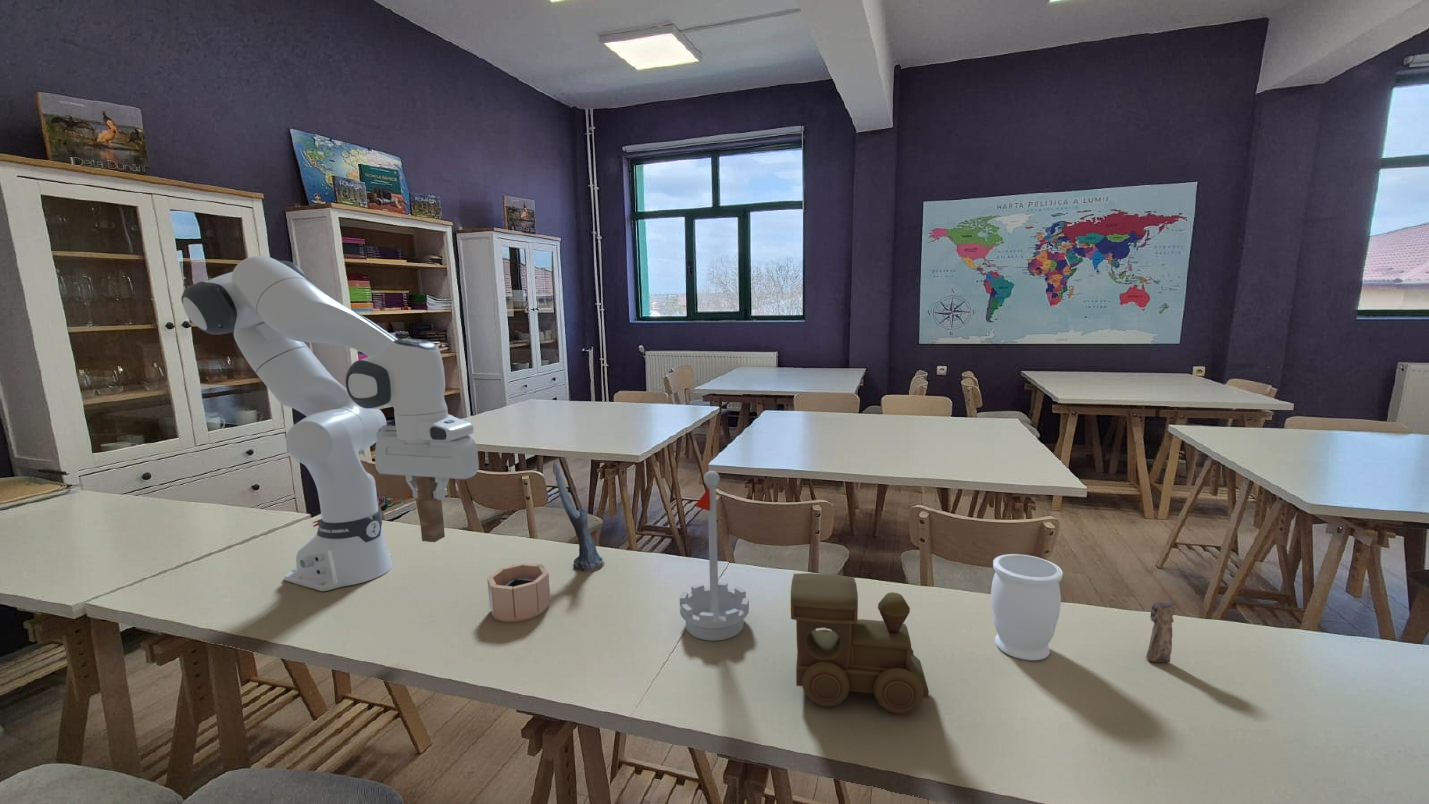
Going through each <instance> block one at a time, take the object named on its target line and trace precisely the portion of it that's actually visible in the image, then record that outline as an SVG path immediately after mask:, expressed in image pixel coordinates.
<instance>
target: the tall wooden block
mask: <svg viewBox="0 0 1429 804" xmlns="http://www.w3.org/2000/svg"><path fill="white" fill-rule="evenodd" d="M416 483H417V494H418V498H417V500H418V501H417V502H418V512H419V524H420V533H421V541H422V542H425V543H426V542H427V543H436V542H438V541H439V540H441V539H443V538H445V535H446V533H445V523H444V514H443V513H444V512H443V511H444V510H443V502H442V500H443V499H441V500H434V499H432V496H433V495H432V491H433V490H436V487H437V485H438V483H436V482H435V477H422V476H416Z"/></svg>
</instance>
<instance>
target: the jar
mask: <svg viewBox="0 0 1429 804" xmlns="http://www.w3.org/2000/svg"><path fill="white" fill-rule="evenodd" d="M992 566H993V567H992V568H993V570H994V571H995V573H994V575H993V578H992V583H991V590H990V602H991V604H990V605H991V609H992V610H991V611H992V618H993V619H992V620H993V625H994V628H995V630H996V633H997V634H996V635H995V638H994V643H995V645H996V647H997V648H998V649H999V650H1001V652H1003V653H1004V654H1007V655H1008V656H1011V657H1013V658H1017V659H1019V660H1024V661H1041V660H1044V659H1046V658H1048V657H1049V655H1050V653H1051V650H1050V647H1049V644H1050V642H1051V641H1052V639H1053V637H1054V634H1055V631H1056V627H1057V625H1058V621H1059V617H1060V612H1061V607H1062V606H1061V604H1062V601H1061V599H1062V598H1061V597H1062V596H1061V594H1062V593H1061V587H1060V582H1061V581H1062V579H1063V570H1062V569H1061V568H1060V567H1059V565H1057V564H1055V563H1054V562H1051V561H1049V560H1046V559H1045V558H1041V557H1039V556H1033V555H1029V554H1021V553H1020V554H1019V553H1010V554H1009V553H1006V554H1002V555H998V556H996V557H995V558H994V559H993V560H992Z"/></svg>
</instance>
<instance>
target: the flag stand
mask: <svg viewBox="0 0 1429 804" xmlns="http://www.w3.org/2000/svg"><path fill="white" fill-rule="evenodd" d="M720 481H721V480H720V475H719V473H718V472H716V471H715V470H708V471H707V472H705V473H704V476H703V482H704V484H705V485H706V486H707V489H706V490H705V492H704V493H703V495H702V496H701V497H700V499H698V501H697V502H696V504H695V505H694V507H696V508H699V509H702V510H705V511H707V512H708V513H707V516H708V551H709V552H708V554H709V555H708V556H709V557H708V558H709V587H705V585H704V583H698V584H694V585H693V586H690V587H691V591H690V592H686V591H683V592H682V593H681V594H680V597H679V614H680V616H681V618H682V619H683V620H684V621H685V629H686V631H687V632H688V634H690V635H691V636H693V637H694V638H697V639H700V640H705V641H713V642H715V641H723V640H728V639H731V638H733V637H735V636H736V635H738V634H740V633H741V632H742V630H743V629H744V626H745V625H744V624H745V623H744V619H746V617H747V616H748V614H749V613H750V611H749V610H750V597H747V591H746V590H745V589H744V588H742V587H740V586H736V587H735V588H734V589H731V588H729V587H728V585H729V584H728V582H722V581H719V576H718V575H719V569H718V568H719V566H718V565H719V564H718V562H719V561H718V527H717V525H718V522H717V520H718V519H717V485H718V484H719V483H720Z"/></svg>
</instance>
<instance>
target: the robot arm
mask: <svg viewBox="0 0 1429 804" xmlns="http://www.w3.org/2000/svg"><path fill="white" fill-rule="evenodd" d="M181 303H182V307H183V310H184V313H185V314H186V316H187V318H188V319H189V320H190V321H191V322H192V324H194V325H195V326H196V327H197V328H198V329H200V330H201V331H202V332H205V333H207V334H209V335H214V336H215V335H223V334H224V335H225V334H229V333H233V338H234V340H235V343H236V344H237V347H238V348H239V350H240V352H241V354H242V356H243V357H244V359H245V360H246V361H247V363H248V364H249V366H250V367H251V369H252V370H253V371H254V373H255V374H256V375H257V377H258V378H260V380H261V381H262V383H264V385H265V386H266V388H268V390H269V391H270V392H271V393H272V395H273V396H274V397H275V399H277V401H278V402H280V403H281V404H282V405H284V406H286V407H288V408H291V409H294V410H295V411H297V412H299V413H301V414H302V415H304V416H306V417H304V418H302V419H301V420H300V421H297V422H296V423H294V424H293V425H292V426H291V427H290V429H289V430H288V432H287V434H286V436H285V438H286V439H285V445H286V448H287V449H286V450H287V451H288V453H289V455H290V456H291V457H292V458H293V459H294V460H296V461H297V462H299V463H301V464H303V466H305V467H306V469H307V470H308V472H309V473H310V475H311V477H312V479H313V482H314V484H315V486H316V490H317V496H318V501H319V507H320V514H321V518H320V519H317V520H315V521H313V522H312V524H314V525H312V527H313V528H315V527H317V526H318V527H317V532H316V535H314V537H313V538H311V540H309V541H308V542H307V543H306V544H304V545H303V546H302V547H301V548H300V549H299V550H298V551H297V552H296V556H295V565H296V566H295V568H293V569H291V570H290V571H288V572H287V573H286V574H285V575H284V581H286V582H288V583H293V584H296V585H300V586H303V587H306V588H309V589H313V590H317V591H320V592H327V591H331V590H334V589H338V588H342V587H347V586H353V585H357V584H362V583H365V582H368V581H371V580H374V579H377V578H379V577H381V576H383V575H385V574H386V573H388V572H390V570H391V569H393V565H394V563H393V561H392V559H391V558H392V553H391V552H389V549H388V545H387V541H386V537H385V533H384V530H383V527H382V525H383V519H382V518H383V514H382V512H381V509H380V508H379V505H378V504H379V502H378V495H377V488H376V480H375V478H374V476H373V475H372V474H371V473H369V472H367V470H366V469H365V468H364V466H363V464H362V461H361V459H360V451H362V450H366V449H368V448H370V447H371V446H373V445H374V444H375V450H374V463H375V464H374V465H375V469H376V471H377V473H379V474H381V475H392V476H405V481H406V483H407V484H408V486H409V488H410V490H411V491H412V497H413V498H414V499H418V494H417V483H416V476H422V477H435V482H436V483H438V485H437V487H436V490H433V491H432V495H433V496H432V499H434V500H444V499H445V498H446V491H445V489H446V487H447V486H448V484H449V482H450V479H454V480H455V479H457V480H466V479H467V480H468V479H470V478H471V477H474V476H475V475H477V472H478V471H479V467H480V466H479V465H480V463H479V455H478V449H477V444H476V441H475V439H474V438H473V437H472V436H470V435H472V434H474V425H473V424H472V423H471V422H468V421H466V420H464V419H460V418H458V417H455V416H454V415H453V414H449V412H448V411H449V410H448V405H447V403H446V400H445V391H446V376H445V375H446V374H445V367H444V363H443V358H442V354H441V352H440V350H439V347H438V346H437V345H436V344H435V343H434V342H432V341H429V340H426V339H425V340H424V339H419V338H397V337H396V336H394V335H392V333H389V332H388V331H387V330H385V329H383V328H382V327H381V326H379V325H378V324H377V323H375V322H373V321H372V320H370V319H368V318H367V317H366V316H364V315H361V314H360V313H358V312H356V311H355V310H352V309H351V308H349V307H347V306H346V305H344V304H343V303H341V302H339V301H337V300H335V299H334V298H332V297H331V296H329V295H328V294H326V293H325V292H323V291H322V290H321V289H319V288H318V287H317V286H316V285H314V284H313V283H312V282H310V280H309V278H308V277H307V274H305V272H304V271H303V270H302V269H301V267H300V266H298V265H297V264H295V263H293V262H292V261H288V260H278V259H275V258H273V257H270V256H265V255H253V256H250V257H247V258H245V259H243V260H242V261H240V262H239V263H237V265H236V266H234V269H233V271H230V272H227V273H223V274H221V275H218V276H216V277H212V278H210V279H208V280H205V281H198V282H195V283H194V284H192V285H189V286H188V287H186V288H185V289H184V290H183V292H182V295H181ZM307 343H312V344H325V345H333V346H334V345H335V346H340V347H346V348H349V349H352V350H353V349H354V350H356V351H358V352H359V353H360V352H361V353H362V354H364V355H365V356H366V357H365V358H362V359H359V360H356V361H354V362H352V364H351V365H350V366H349V368H348V369H347V372H346V375H345V386H344V385H343V384H341V383H340V382H339V381H337V379H336V378H335V377H333V376H332V374H331V373H330V372H329V371H328V370H327V369H326V368H325V366H324V365H323V364H322V363H321V361H320V360H319V359H318V357H317V356H316V355H315V354H314V352H312V350H311V349H310V348H309V346H308V345H307ZM389 407H392V408H393V409H394V423H395V425H390V424H387V419H386V417H385V414H384V413H383V412H382V410H381V409H384V408H389Z"/></svg>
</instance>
